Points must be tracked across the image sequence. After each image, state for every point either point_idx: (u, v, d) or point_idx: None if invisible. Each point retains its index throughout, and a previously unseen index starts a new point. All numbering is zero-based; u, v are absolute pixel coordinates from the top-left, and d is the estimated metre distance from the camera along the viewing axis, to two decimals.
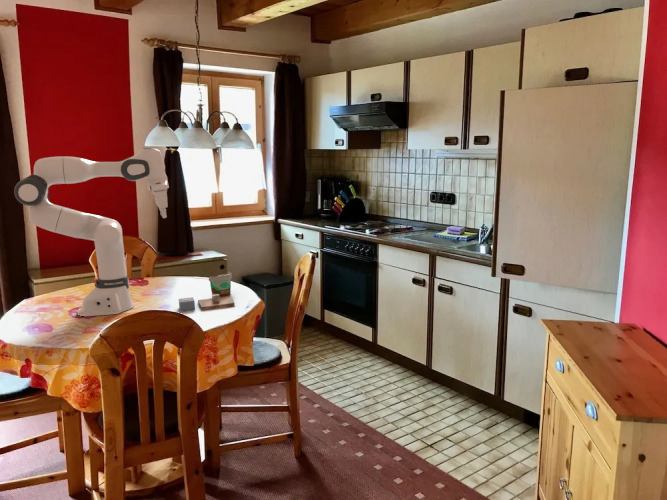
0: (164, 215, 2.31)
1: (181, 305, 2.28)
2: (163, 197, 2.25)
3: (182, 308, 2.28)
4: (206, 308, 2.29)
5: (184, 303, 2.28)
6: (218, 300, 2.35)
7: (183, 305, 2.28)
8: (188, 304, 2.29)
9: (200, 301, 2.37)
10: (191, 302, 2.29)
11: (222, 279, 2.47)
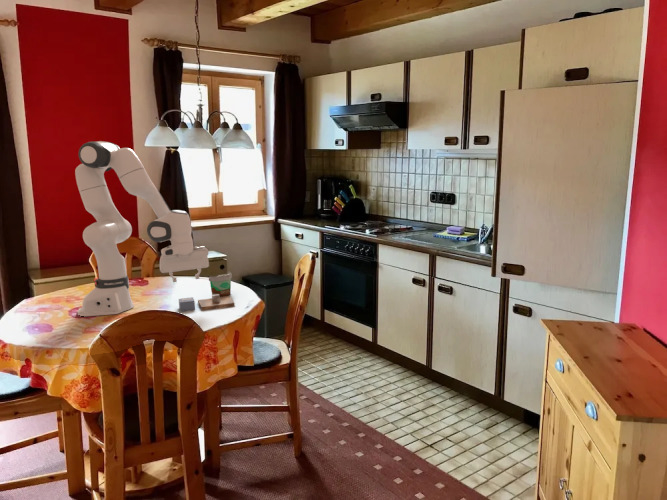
0: None
1: (181, 305, 2.28)
2: (160, 262, 2.24)
3: (182, 308, 2.28)
4: (206, 308, 2.29)
5: (184, 303, 2.28)
6: (218, 300, 2.35)
7: (183, 305, 2.28)
8: (188, 304, 2.29)
9: (200, 301, 2.37)
10: (191, 302, 2.29)
11: (222, 279, 2.47)
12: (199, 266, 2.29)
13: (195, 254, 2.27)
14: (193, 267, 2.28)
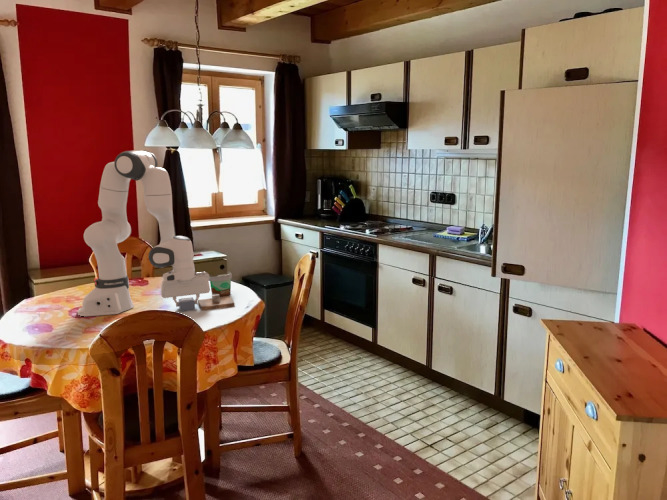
0: (176, 304, 2.30)
1: (181, 305, 2.28)
2: (161, 287, 2.26)
3: (182, 308, 2.28)
4: (206, 308, 2.29)
5: (184, 303, 2.28)
6: (218, 300, 2.35)
7: (183, 305, 2.28)
8: (188, 304, 2.29)
9: (200, 301, 2.37)
10: (191, 302, 2.29)
11: (222, 279, 2.47)
12: (200, 291, 2.31)
13: (196, 280, 2.29)
14: (194, 292, 2.30)
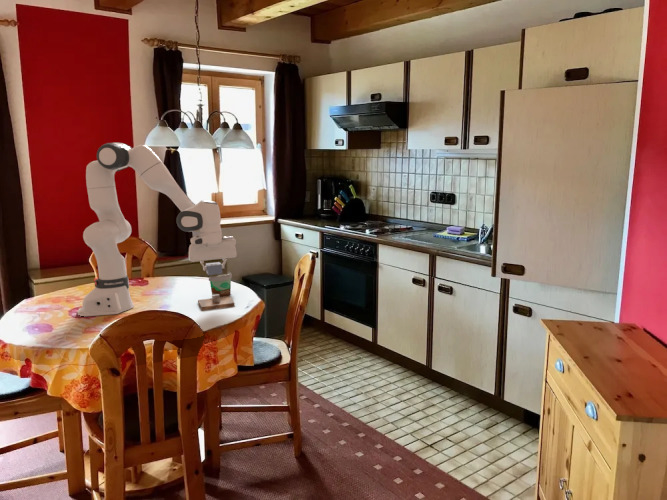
0: (203, 268, 2.31)
1: (209, 269, 2.29)
2: (189, 251, 2.27)
3: (210, 272, 2.30)
4: (206, 308, 2.29)
5: (212, 267, 2.30)
6: (218, 300, 2.35)
7: (210, 269, 2.29)
8: (215, 268, 2.30)
9: (200, 301, 2.37)
10: (218, 266, 2.31)
11: (222, 279, 2.47)
12: (227, 256, 2.32)
13: (223, 244, 2.31)
14: (221, 257, 2.32)
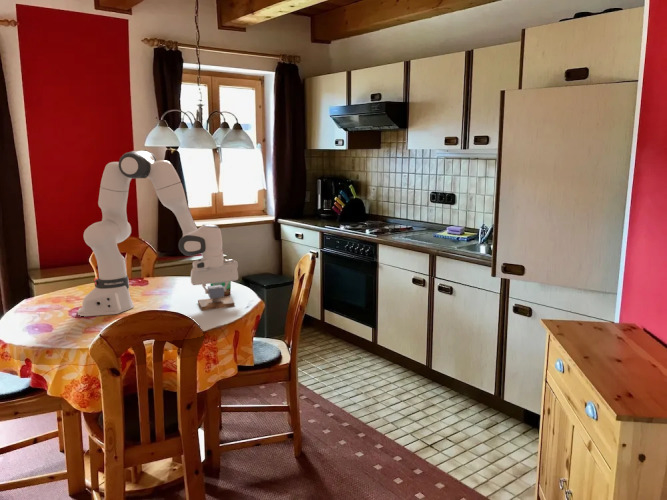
0: (205, 291, 2.33)
1: (211, 292, 2.31)
2: (191, 275, 2.29)
3: (212, 295, 2.31)
4: (206, 308, 2.29)
5: (213, 290, 2.31)
6: (218, 300, 2.35)
7: (212, 292, 2.31)
8: (217, 291, 2.32)
9: (200, 301, 2.37)
10: (220, 289, 2.32)
11: None
12: (229, 279, 2.34)
13: (225, 267, 2.33)
14: (223, 280, 2.33)
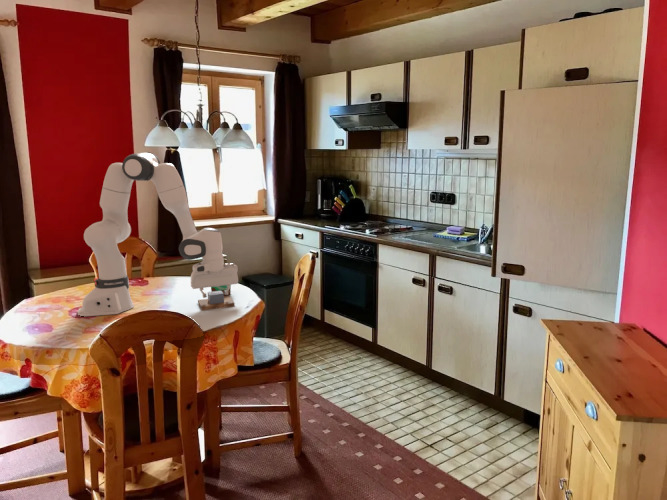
0: None
1: (211, 298, 2.32)
2: (191, 278, 2.30)
3: (212, 301, 2.32)
4: (206, 308, 2.29)
5: (213, 296, 2.32)
6: None
7: (212, 298, 2.32)
8: (217, 297, 2.33)
9: (200, 301, 2.37)
10: (220, 295, 2.33)
11: None
12: (229, 282, 2.35)
13: (225, 271, 2.33)
14: (223, 283, 2.34)
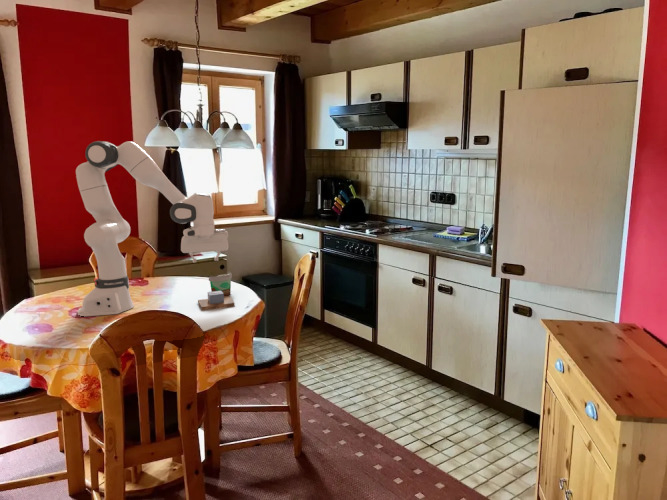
0: None
1: (211, 298, 2.32)
2: (181, 242, 2.31)
3: (212, 301, 2.32)
4: (206, 308, 2.29)
5: (213, 296, 2.32)
6: None
7: (212, 298, 2.32)
8: (217, 297, 2.33)
9: (200, 301, 2.37)
10: (220, 295, 2.33)
11: (222, 279, 2.47)
12: (219, 248, 2.36)
13: (216, 237, 2.34)
14: (213, 249, 2.35)
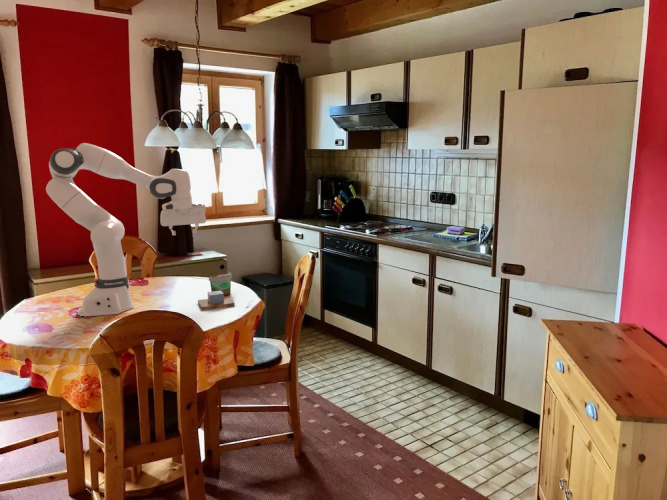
0: (172, 232, 2.46)
1: (211, 298, 2.32)
2: None
3: (212, 301, 2.32)
4: (206, 308, 2.29)
5: (213, 296, 2.32)
6: None
7: (212, 298, 2.32)
8: (217, 297, 2.33)
9: (200, 301, 2.37)
10: (220, 295, 2.33)
11: (222, 279, 2.47)
12: (197, 221, 2.48)
13: (193, 210, 2.46)
14: (191, 222, 2.47)
